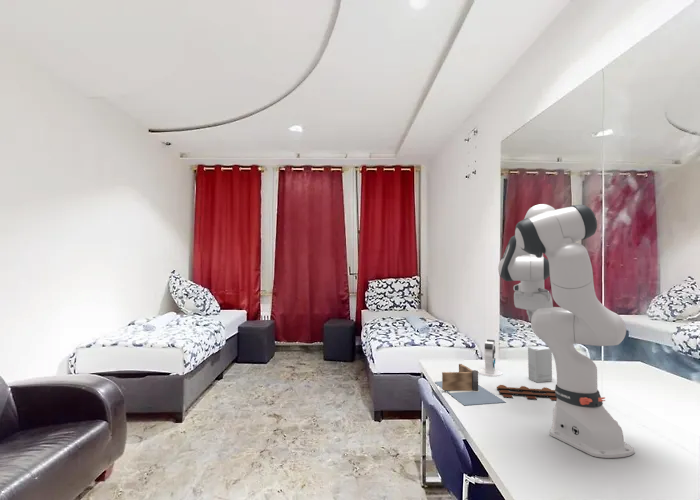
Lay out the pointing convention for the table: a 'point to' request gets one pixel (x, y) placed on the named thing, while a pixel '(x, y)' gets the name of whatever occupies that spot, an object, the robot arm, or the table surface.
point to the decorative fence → (527, 392)
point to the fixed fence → (474, 376)
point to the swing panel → (456, 380)
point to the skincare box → (540, 364)
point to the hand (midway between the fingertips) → (532, 321)
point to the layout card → (473, 396)
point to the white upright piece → (489, 360)
